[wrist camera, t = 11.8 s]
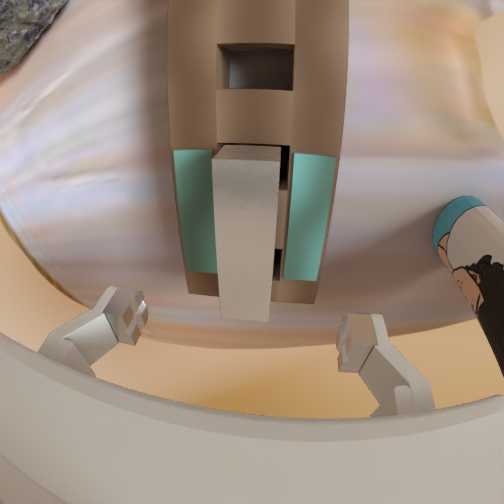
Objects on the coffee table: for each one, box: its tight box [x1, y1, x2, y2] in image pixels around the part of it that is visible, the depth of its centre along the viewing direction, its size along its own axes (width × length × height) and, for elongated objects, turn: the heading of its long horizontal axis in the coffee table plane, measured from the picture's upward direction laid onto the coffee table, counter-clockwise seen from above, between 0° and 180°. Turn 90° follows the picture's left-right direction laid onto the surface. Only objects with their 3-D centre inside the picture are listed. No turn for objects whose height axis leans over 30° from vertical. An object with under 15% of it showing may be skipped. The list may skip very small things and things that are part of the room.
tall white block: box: [212, 143, 281, 322], centre depth 18 cm, size 3×10×8 cm, turn 179°
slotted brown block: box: [167, 0, 349, 304], centre depth 15 cm, size 10×28×4 cm, turn 179°
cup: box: [433, 196, 504, 377], centre depth 14 cm, size 7×7×15 cm
